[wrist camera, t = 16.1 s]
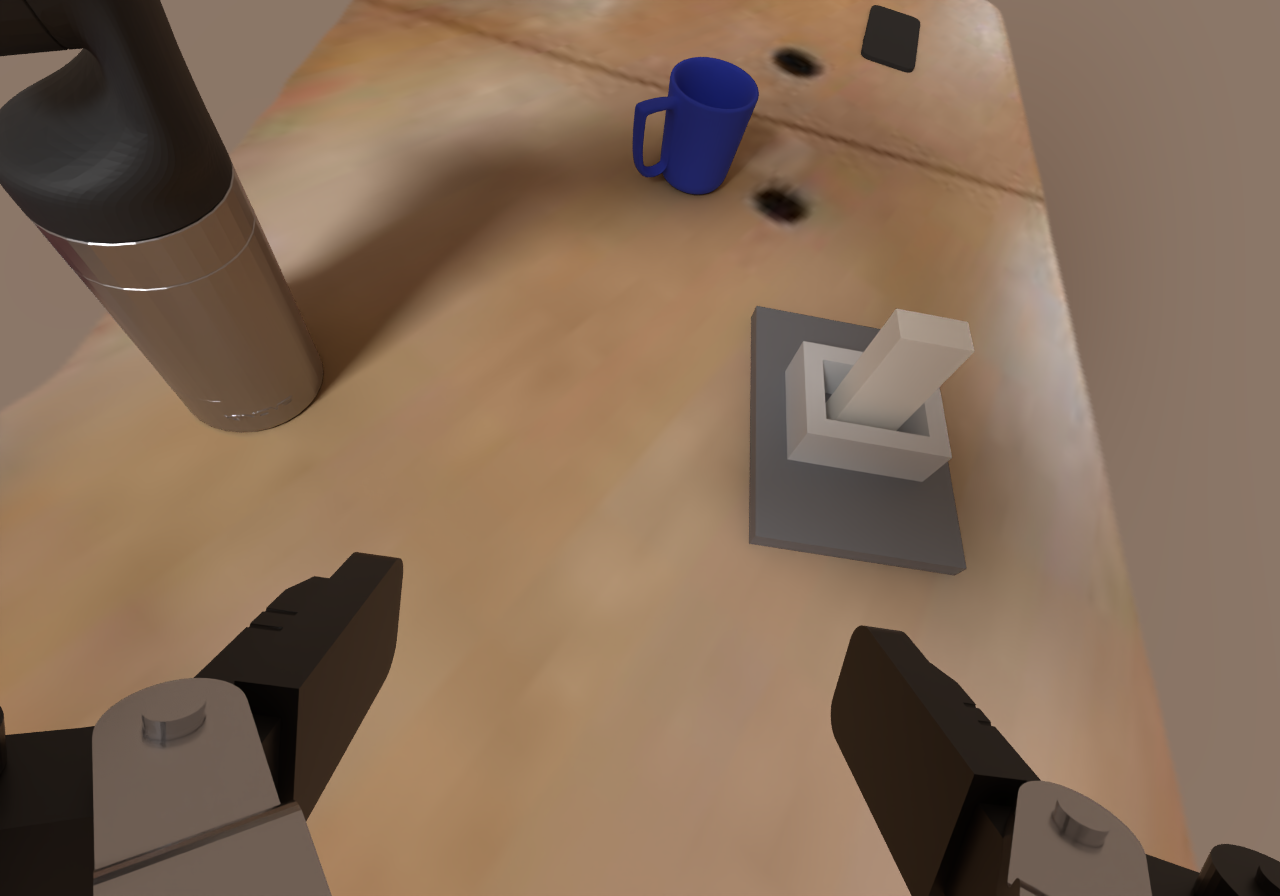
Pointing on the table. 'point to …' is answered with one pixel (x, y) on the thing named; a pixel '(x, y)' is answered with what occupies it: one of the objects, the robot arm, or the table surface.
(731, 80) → the mug
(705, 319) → the table surface
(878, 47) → the phone
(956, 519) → the block insertion holder
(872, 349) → the rectangular block
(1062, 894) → the robot arm
